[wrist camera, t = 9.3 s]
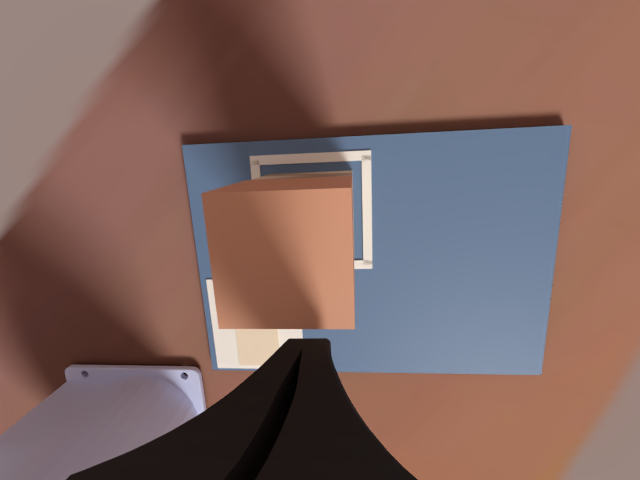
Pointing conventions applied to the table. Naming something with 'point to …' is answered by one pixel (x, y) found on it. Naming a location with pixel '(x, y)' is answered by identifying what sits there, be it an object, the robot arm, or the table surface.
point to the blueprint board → (417, 246)
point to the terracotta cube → (282, 253)
